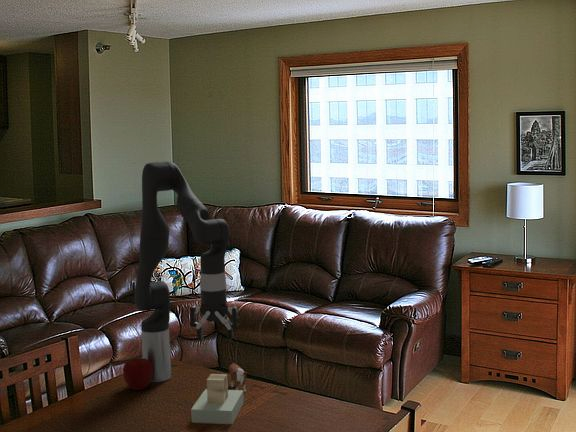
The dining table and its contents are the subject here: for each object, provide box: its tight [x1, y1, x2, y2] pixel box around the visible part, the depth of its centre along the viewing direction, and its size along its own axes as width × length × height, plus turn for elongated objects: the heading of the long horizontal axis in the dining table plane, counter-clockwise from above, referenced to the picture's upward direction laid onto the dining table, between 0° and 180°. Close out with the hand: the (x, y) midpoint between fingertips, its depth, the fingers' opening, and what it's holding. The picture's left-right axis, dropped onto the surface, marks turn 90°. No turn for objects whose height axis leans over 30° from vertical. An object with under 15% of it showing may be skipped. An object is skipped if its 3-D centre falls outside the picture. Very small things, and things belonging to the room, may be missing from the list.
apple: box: [122, 357, 153, 391], centre depth 240 cm, size 10×10×10 cm
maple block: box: [206, 373, 229, 403], centre depth 219 cm, size 5×5×7 cm
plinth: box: [190, 388, 245, 425], centre depth 220 cm, size 16×12×4 cm
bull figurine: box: [228, 362, 248, 393], centre depth 238 cm, size 4×13×8 cm, turn 15°
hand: (215, 340), depth 217 cm, fingers open, 8 cm apart
